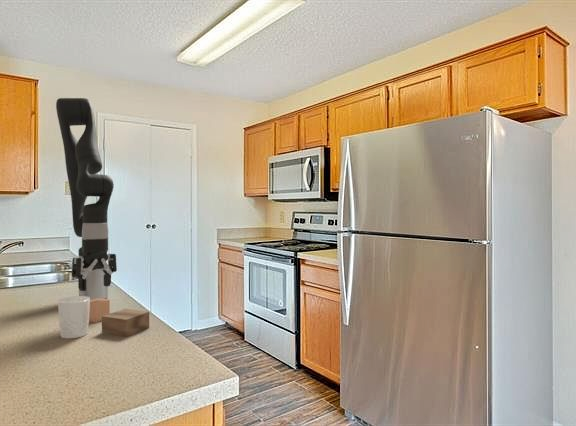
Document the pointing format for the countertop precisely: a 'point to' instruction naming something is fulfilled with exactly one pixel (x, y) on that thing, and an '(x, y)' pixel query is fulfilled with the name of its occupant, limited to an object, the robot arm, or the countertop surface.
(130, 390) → the countertop surface
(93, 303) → the terracotta block
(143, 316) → the walnut block
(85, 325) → the white cup
